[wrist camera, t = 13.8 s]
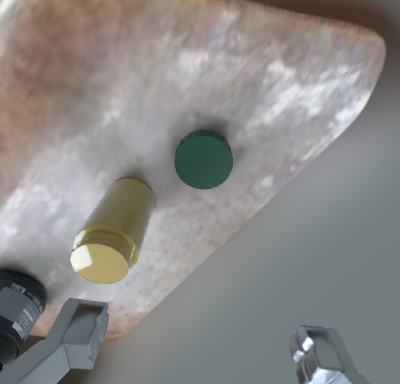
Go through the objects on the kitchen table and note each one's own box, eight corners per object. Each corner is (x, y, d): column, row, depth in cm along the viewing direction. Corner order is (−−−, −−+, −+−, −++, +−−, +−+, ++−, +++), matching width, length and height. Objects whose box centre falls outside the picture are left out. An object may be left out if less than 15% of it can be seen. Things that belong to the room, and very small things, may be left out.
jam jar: (106, 174, 28) (59, 234, 19) (156, 181, 28) (134, 243, 19) (108, 215, 31) (68, 284, 22) (153, 220, 31) (133, 291, 22)
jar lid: (213, 189, 29) (214, 198, 27) (167, 167, 27) (164, 174, 26) (241, 147, 26) (244, 153, 24) (192, 119, 25) (191, 124, 23)
